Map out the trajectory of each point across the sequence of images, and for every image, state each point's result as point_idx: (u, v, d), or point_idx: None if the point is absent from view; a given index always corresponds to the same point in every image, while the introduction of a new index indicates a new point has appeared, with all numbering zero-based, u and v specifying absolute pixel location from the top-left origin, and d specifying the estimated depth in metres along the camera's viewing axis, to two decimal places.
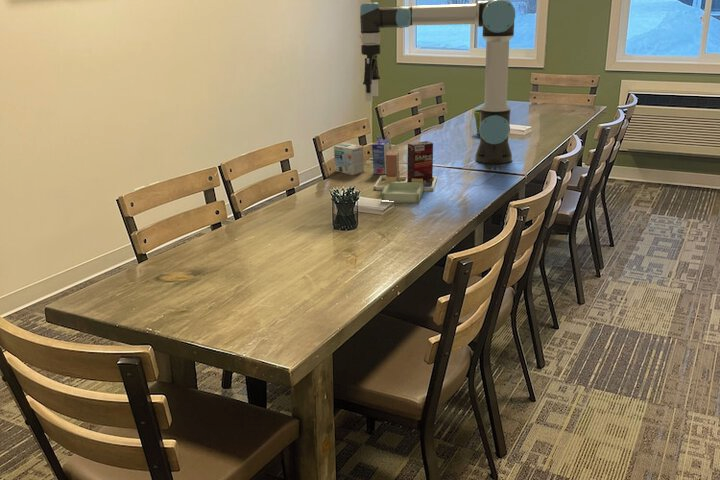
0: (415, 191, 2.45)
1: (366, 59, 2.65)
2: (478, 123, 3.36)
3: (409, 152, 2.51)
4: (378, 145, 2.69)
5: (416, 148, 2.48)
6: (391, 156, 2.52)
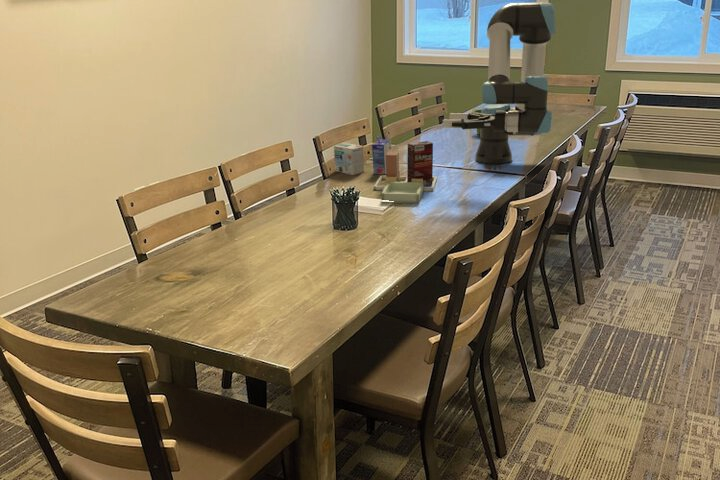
0: (415, 191, 2.45)
1: None
2: None
3: (409, 152, 2.51)
4: (378, 145, 2.69)
5: (415, 148, 2.48)
6: (391, 156, 2.52)
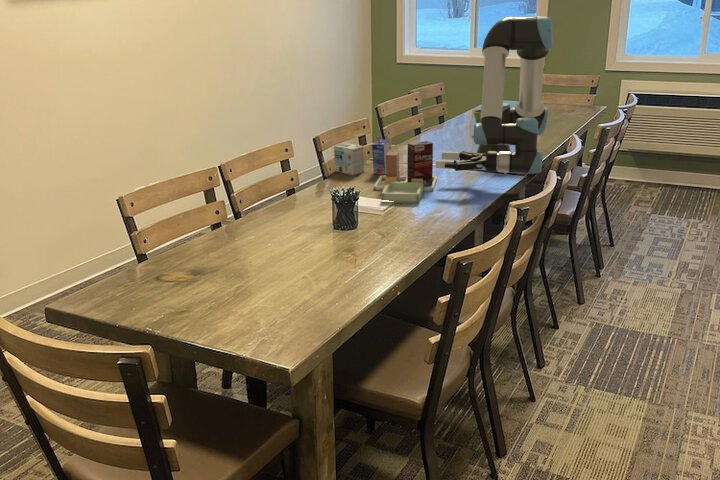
0: (415, 191, 2.45)
1: None
2: None
3: (409, 152, 2.51)
4: (378, 145, 2.69)
5: (415, 147, 2.48)
6: (391, 156, 2.52)
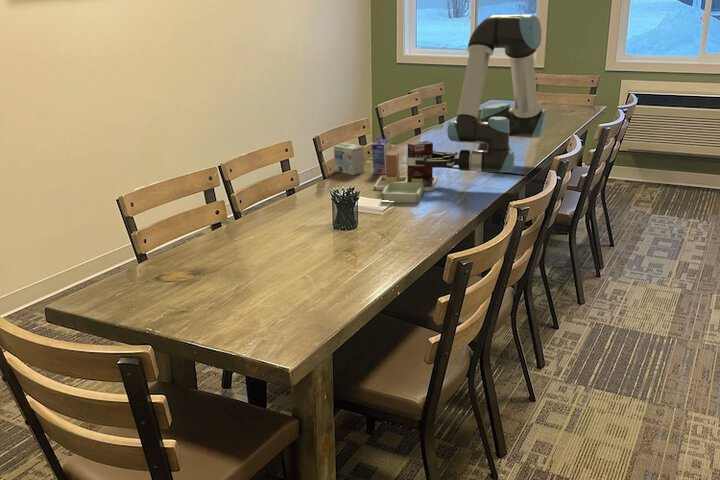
0: (415, 191, 2.45)
1: None
2: None
3: (409, 152, 2.51)
4: (378, 145, 2.69)
5: (415, 147, 2.48)
6: (391, 156, 2.52)
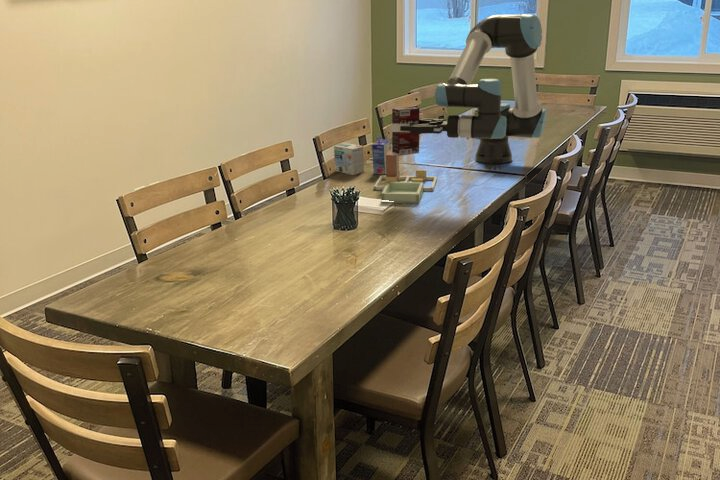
0: (415, 191, 2.45)
1: None
2: None
3: (394, 118, 2.34)
4: (378, 145, 2.69)
5: (400, 112, 2.31)
6: (391, 156, 2.52)
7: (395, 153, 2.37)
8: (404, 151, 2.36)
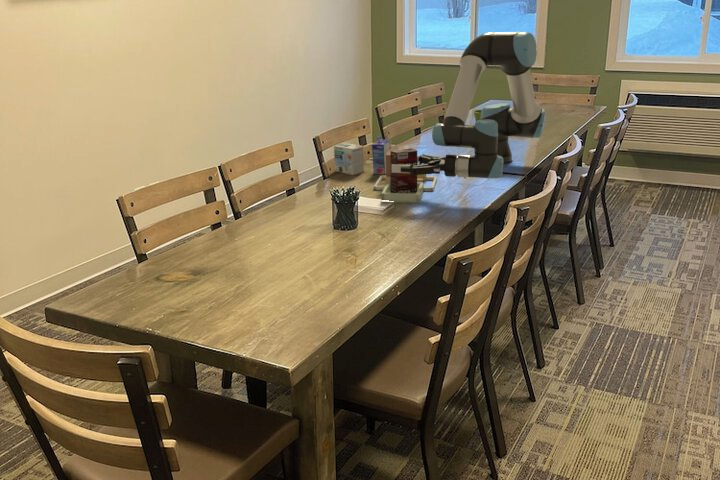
0: None
1: None
2: None
3: (392, 160, 2.37)
4: (378, 145, 2.69)
5: (398, 155, 2.34)
6: None
7: None
8: None
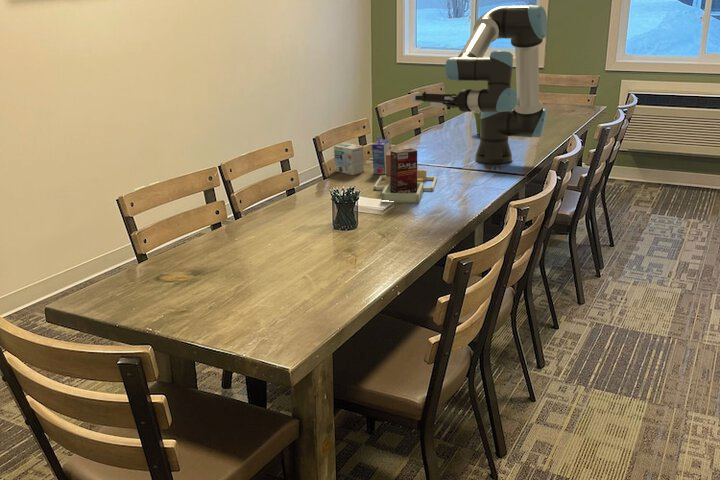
0: None
1: None
2: (478, 123, 3.36)
3: (392, 160, 2.37)
4: (378, 145, 2.69)
5: (398, 155, 2.34)
6: None
7: None
8: None
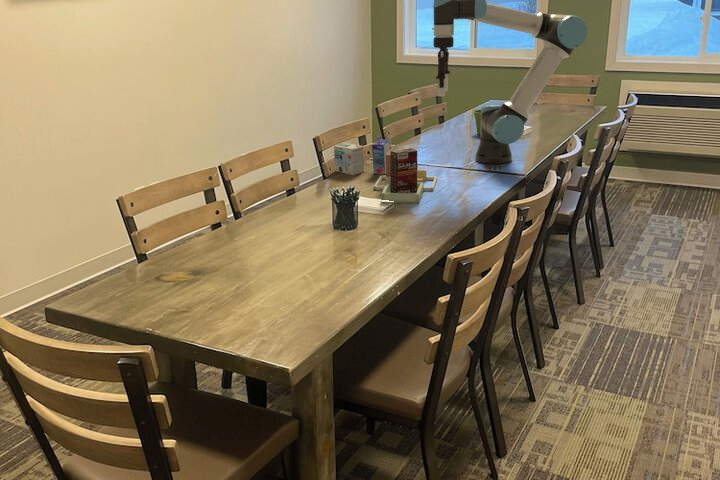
0: None
1: (440, 52, 2.52)
2: (478, 123, 3.36)
3: (392, 160, 2.37)
4: (378, 145, 2.69)
5: (398, 155, 2.34)
6: None
7: None
8: None
